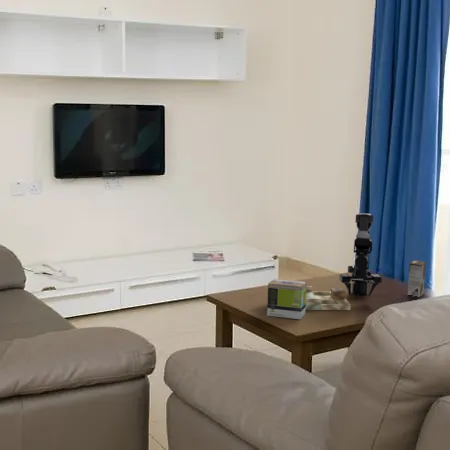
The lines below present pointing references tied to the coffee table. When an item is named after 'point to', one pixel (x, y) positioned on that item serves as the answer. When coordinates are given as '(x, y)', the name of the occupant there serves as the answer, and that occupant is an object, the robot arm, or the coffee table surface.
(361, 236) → the robot arm
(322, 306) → the board
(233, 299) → the coffee table surface
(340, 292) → the walnut block
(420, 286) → the coffee box
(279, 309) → the tea box
